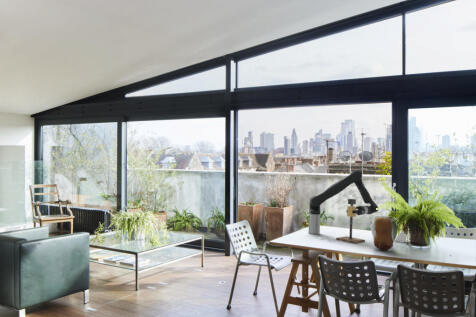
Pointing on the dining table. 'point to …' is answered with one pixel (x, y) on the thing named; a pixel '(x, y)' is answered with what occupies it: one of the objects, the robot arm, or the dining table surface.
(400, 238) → the cable organizer
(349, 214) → the sleeve
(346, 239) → the stand
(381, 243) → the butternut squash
